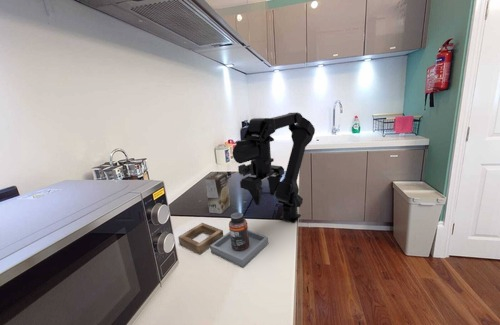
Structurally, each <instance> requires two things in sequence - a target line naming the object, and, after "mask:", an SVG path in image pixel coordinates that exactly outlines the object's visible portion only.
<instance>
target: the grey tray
mask: <svg viewBox="0 0 500 325" xmlns="http://www.w3.org/2000/svg"><path fill="white" fill-rule="evenodd" d="M248 236H249V246H248V248H246V249H245V250H242V251H237V250H234V249H233V248H232V245H231V238H230V231H229V232H227V233H225V235H224V234H223V237H221V238H220V239H219V240H217V241H216V242H214V243H213V244H212V245H210V248H209V249H210V253H212V254H213V255H216V256H218V257H220V258H221V259H225V260H226V261H229V262H231V263H232V264H235V265H237V266H239V267H241V268H245V267H246V266H247V265H248V264H249V263H250V262H251V261H252V260H253V259H254V258H255V257H256V256H257V255H259V253H260V252H262V251H263V249H264V248H265V247H266V246H268V245H269V236H266V235H264V234H260V233H258V232H256V231H252V230H249V229H248Z"/></svg>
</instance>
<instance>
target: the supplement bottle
mask: <svg viewBox="0 0 500 325" xmlns="http://www.w3.org/2000/svg"><path fill="white" fill-rule="evenodd" d="M248 227H249V226H248V222H247V220H246V219H245V218H244V214H243V213H242V212H234V213H232V214H230V221H229V223H228V228H229V229H228V230H229V232H230V238H231V245H232V248H233V249H234V250H237V251H242V250H245V249H246V248H248V246H249V236H248V230H249V228H248Z"/></svg>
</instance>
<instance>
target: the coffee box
mask: <svg viewBox="0 0 500 325" xmlns="http://www.w3.org/2000/svg"><path fill="white" fill-rule="evenodd" d="M204 181H205V186H206V187H205V188H206V195H207V196H206V197H207V203H208V204H207V205H208V210H209V211H208V212H209V213H211V214H223V213H224V212H225V211H226V210H227V209H228V208H229V207H230V206H231V201H230V200H231V198H230V191H229V180H228V173H226V172H215V173H213V174H211V175H209V176H208V177H206V178H205V180H204Z"/></svg>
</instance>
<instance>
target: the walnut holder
mask: <svg viewBox="0 0 500 325" xmlns="http://www.w3.org/2000/svg"><path fill="white" fill-rule="evenodd" d="M201 234H206V235H208V236H207V237H206V238H204V239H203V240H201V241H200V242H199V241H196V240H194V239H195V238H196V237H198V236H199V235H201ZM223 236H224V231H223V229H220V228H218V227H215V226H212V225H209V224H207V223H204V222H200V223H199V224H197V225H196V226H194V227H192V228H191V229H189V230H187V231H185V232H184V233H181V235H179V236H178V241H179V242H178V243H179V245H180V246H182V247H184V248H186V249H187V250H191V251H192V252H194V253H196V254H198V255H202V254H203V253H205V252H206V251H207V250H209V249H210V245H212V244H213V243H214V242H216V241H217V240H219V239H220V238H221V237H223Z"/></svg>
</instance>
